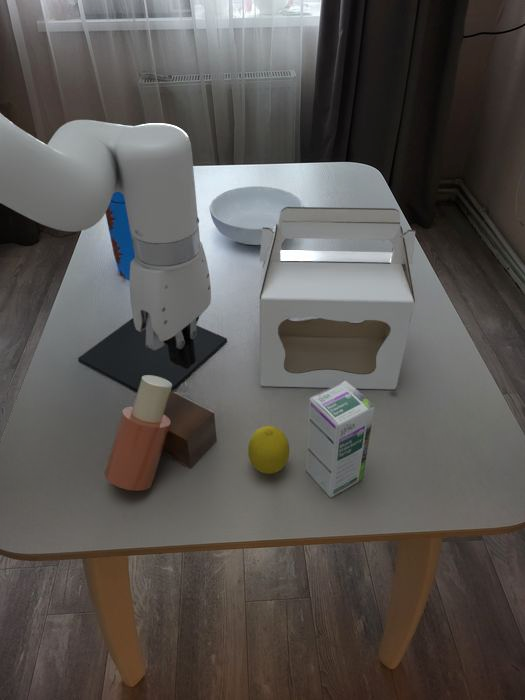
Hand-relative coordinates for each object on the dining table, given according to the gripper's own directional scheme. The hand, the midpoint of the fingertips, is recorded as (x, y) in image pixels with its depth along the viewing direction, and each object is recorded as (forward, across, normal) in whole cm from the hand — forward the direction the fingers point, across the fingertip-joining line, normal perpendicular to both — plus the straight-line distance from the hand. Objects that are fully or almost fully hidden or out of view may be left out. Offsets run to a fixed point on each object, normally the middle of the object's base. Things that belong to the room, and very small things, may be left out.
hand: (183, 361), depth 75 cm
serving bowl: (+13, -54, -24) cm, 60 cm away
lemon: (+13, 0, +14) cm, 19 cm away
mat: (+13, -10, -16) cm, 23 cm away
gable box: (+13, -24, +10) cm, 29 cm away
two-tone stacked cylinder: (+13, +10, 0) cm, 16 cm away
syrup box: (+13, -4, +22) cm, 26 cm away
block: (+13, +3, 0) cm, 13 cm away
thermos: (+13, -29, -36) cm, 48 cm away
